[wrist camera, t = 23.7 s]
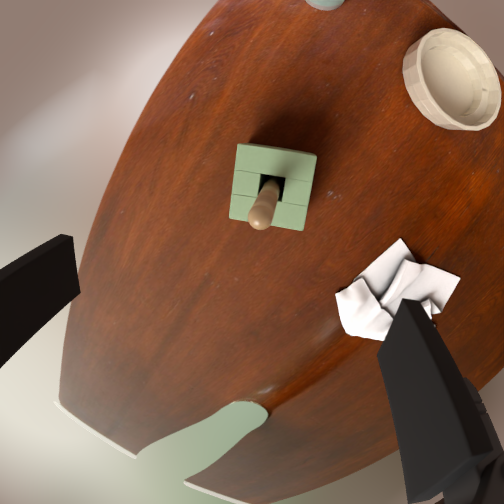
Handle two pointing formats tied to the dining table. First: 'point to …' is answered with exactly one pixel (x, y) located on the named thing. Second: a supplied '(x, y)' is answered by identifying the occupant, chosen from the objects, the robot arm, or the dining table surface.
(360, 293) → the cloth
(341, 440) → the dining table surface
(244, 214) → the stand
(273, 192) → the stick
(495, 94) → the bowl
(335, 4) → the coffee cup
